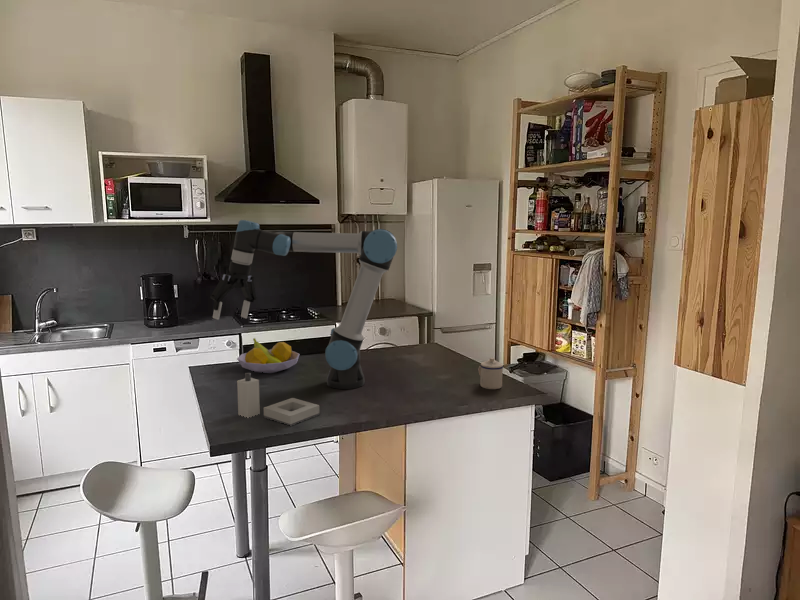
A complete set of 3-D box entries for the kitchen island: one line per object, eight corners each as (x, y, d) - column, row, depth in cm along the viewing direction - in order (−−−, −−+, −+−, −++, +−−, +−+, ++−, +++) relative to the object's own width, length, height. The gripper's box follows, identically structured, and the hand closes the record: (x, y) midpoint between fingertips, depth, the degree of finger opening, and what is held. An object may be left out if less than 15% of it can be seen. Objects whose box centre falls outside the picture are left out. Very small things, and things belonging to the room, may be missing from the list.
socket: (255, 415, 185) (255, 405, 185) (284, 404, 196) (284, 395, 195) (290, 426, 175) (290, 416, 175) (319, 415, 186) (319, 405, 185)
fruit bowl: (305, 374, 235) (304, 348, 233) (239, 380, 225) (238, 353, 224) (294, 358, 261) (293, 335, 259) (234, 363, 251) (234, 339, 250)
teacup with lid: (507, 387, 219) (508, 359, 217) (490, 391, 214) (491, 362, 212) (486, 379, 229) (487, 352, 227) (470, 383, 224) (471, 355, 222)
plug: (238, 415, 185) (236, 373, 183) (250, 410, 189) (249, 370, 187) (247, 418, 182) (246, 376, 180) (259, 414, 186) (258, 373, 184)
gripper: (258, 262, 213) (247, 314, 216) (206, 258, 192) (195, 316, 195) (272, 266, 210) (261, 319, 213) (221, 263, 188) (210, 322, 191)
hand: (230, 318), depth 204 cm, fingers open, 13 cm apart
